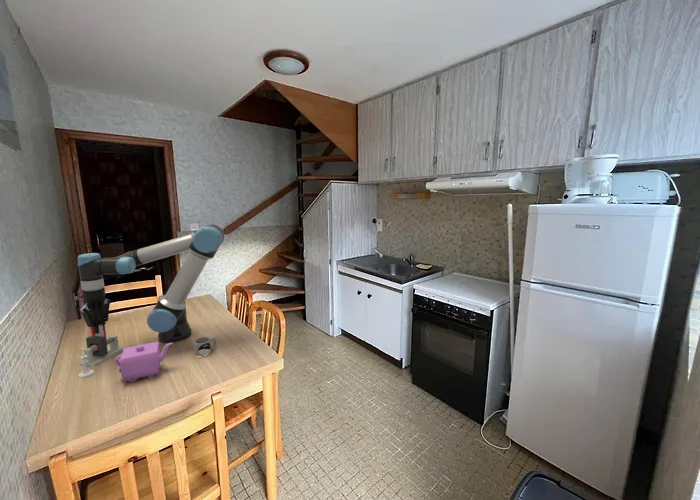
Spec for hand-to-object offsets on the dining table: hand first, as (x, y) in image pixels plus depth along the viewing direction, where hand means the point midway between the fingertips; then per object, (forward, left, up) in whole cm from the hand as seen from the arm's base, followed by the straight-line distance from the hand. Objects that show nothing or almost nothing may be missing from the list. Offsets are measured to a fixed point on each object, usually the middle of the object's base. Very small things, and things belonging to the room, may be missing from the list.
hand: (100, 339), depth 132 cm
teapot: (-30, +9, -9) cm, 33 cm away
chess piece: (-6, +13, -9) cm, 17 cm away
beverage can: (+11, -9, -9) cm, 17 cm away
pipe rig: (0, 0, -9) cm, 9 cm away
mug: (-44, -10, -9) cm, 46 cm away
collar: (0, +2, -7) cm, 7 cm away
